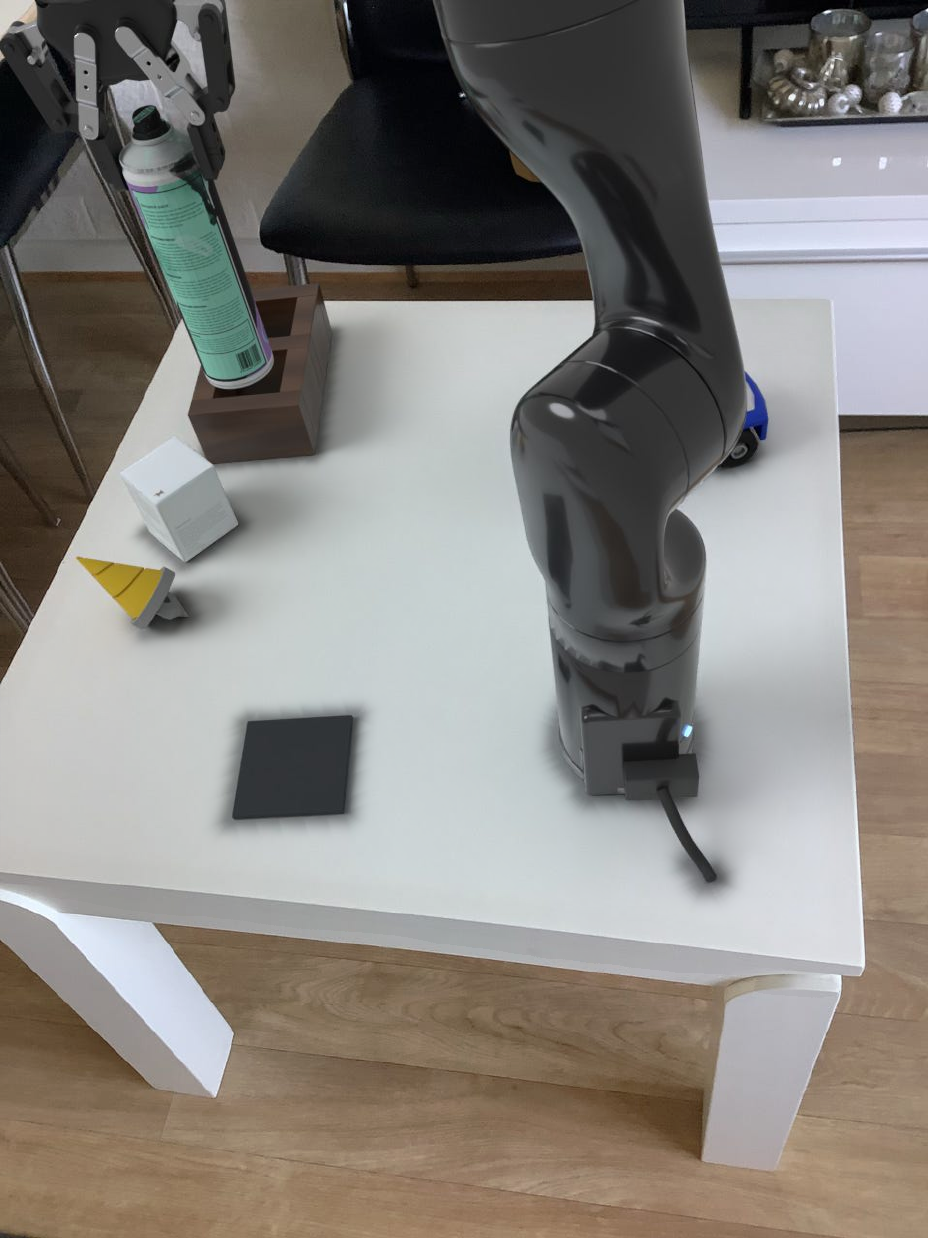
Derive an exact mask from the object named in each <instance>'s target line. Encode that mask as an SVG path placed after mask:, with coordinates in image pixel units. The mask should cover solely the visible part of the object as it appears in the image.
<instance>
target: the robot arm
mask: <svg viewBox="0 0 928 1238" xmlns="http://www.w3.org/2000/svg"><path fill="white" fill-rule="evenodd" d="M34 2H35V6H36V19H34V20H31V21H30V22H27V23H25V22H24V21H21V20H15V21H13V22H12V23H11V24H10V26H9V27H8V28H7V30H6V31H5V33H4V34H3V35H2V37H1V39H0V52H1V54H2V56H3V57H4V59H5V61H6V62H7V63H8V65H9V66H10V68H11V70H12V72H13V73H14V75H15V76H16V77H17V80H18V81H19V82H20V84H21V85H22V87H23V88H24V90H25V92H26V93H27V94H28V96H29V98H30V99H31V101H32V103H33V104H34V105H35V108H37V110H38V111H39V113H40V114H41V116H42V118H43V119H44V121H45V123H46V124H47V126H48V127H49V129H50V130H51V131H53V132H54V133H56V134H64V133H66V132H71V133H74V134H79V135H80V136H81V137H83V138H84V139H85V141H86V142H87V144H88V146H89V148H90V150H91V153H92V156H93V158H94V160H95V162H96V165H97V168H98V170H99V172H100V175H101V177H102V179H104V181H105V182H106V183H107V185H113V187H114V189H115V191H116V192H117V193H119V192H127V191H130V190H129V188H128V185H127V183H126V180H125V178H124V176H123V173H122V166H121V164H120V161H119V154H120V152H121V151H122V149H123V148H124V146H123V143H122V141H121V138H120V136H119V133H118V130H117V129H116V126H115V124H114V123H115V122H109V121H108V91H109V86H116V85H118V84H120V83H122V82H123V81H126V80H127V81H128V80H129V81H133V82H134V81H135V82H146V81H151V83H152V84H153V85H154V87H155V88H156V89H157V90H158V91H159V93H160V94H161V95H162V97H165V98H167V99H169V100H170V101H171V102H172V103H173V104H174V106H175V107H176V108H177V110H179V112H180V113H181V115H183V117H184V118H185V119H186V120H187V122H188V124H187V126H186V129H187V131H188V134H189V137H190V140H191V142H192V145H193V148H194V151H195V154H196V157H197V160H198V162H199V165H200V168H201V171H202V174H203V177H204V179H205V180H206V181H210V180H214V181H215V180H216V181H217V180H218V178H219V174H220V172H221V171H222V170H223V166H224V163H225V160H226V148H225V146H224V143H223V139H222V137H221V134H220V130H219V127H218V125H217V121H216V118H215V114H218V113H225V112H226V111H227V110H228V109H229V107H230V105H231V100H232V97H233V96H234V94H235V90H236V79H235V78H236V77H235V69H234V62H233V54H232V45H231V36H230V28H229V20H228V12H227V11H228V10H227V3H226V0H34ZM684 2H685V1H684V0H432V3H433V8H434V11H435V15H436V18H437V22H438V26H439V30H440V34H441V37H442V42H443V44H444V48H445V51H446V54H447V58H448V60H449V63H450V67H451V69H452V71H453V73H454V77H455V79H456V82H457V83H458V85H459V87H460V89H461V91H462V92H463V94H464V96H465V98H466V100H467V101H468V102H469V104H470V106H471V107H472V108H473V110H474V111H475V113H476V114H477V115H478V117H479V118H480V119H481V120H482V122H483V123H484V124H485V126H486V127H487V128H488V129H489V130H490V131H491V133H493V135H494V136H495V137H496V138H497V139H498V140H499V142H501V144H503V146H504V147H505V148H506V149H507V150H508V151H510V152H511V153H512V154H513V155H514V156H515V157H516V158H517V159H518V160H519V161H520V162H521V163H522V164H523V165H524V166H525V167H526V168H527V169H528V170H529V171H530V172H531V173H532V174H533V175H534V176H535V177H536V178H537V179H538V180H539V181H540V182H539V183H541V184H542V185H543V186H544V187H545V188H546V189H547V190H548V191H549V193H550V194H551V195H552V196H553V197H554V198H555V199H556V200H557V202H559V203H560V205H561V206H562V208H563V210H565V213H567V216H568V218H569V219H570V221H571V223H572V225H573V227H574V230H575V233H576V235H577V238H578V240H579V243H580V247H581V251H582V253H583V258H584V261H585V266H586V270H587V275H588V279H589V284H590V289H591V295H592V302H593V303H592V304H593V314H594V325H593V331H592V334H591V336H590V337H588V338H587V339H586V340H585V341H584V342H582V344H580V345H579V346H578V347H577V348H576V349H574V350H573V351H572V352H571V353H570V354H568V356H566V357H565V358H564V359H562V361H560V362H559V363H558V364H557V365H556V366H554V367H553V368H552V369H551V370H550V371H548V372H547V373H546V374H545V375H543V376H542V378H540V379H539V380H538V381H537V382H536V383H534V384H533V385H532V386H531V387H530V388H529V389H528V390H527V391H526V392H525V393H524V394H523V395H522V396H521V397H520V399H519V400H518V401H517V404H516V405H515V407H514V410H513V413H512V417H511V421H510V427H509V450H510V451H509V452H510V460H511V465H512V471H513V476H514V481H515V486H516V491H517V496H518V502H519V507H520V511H521V517H522V523H523V528H524V533H525V539H526V542H527V545H528V549H529V551H530V554H531V556H532V559H533V561H534V563H535V565H536V567H537V569H538V571H539V573H540V574H541V576H542V578H543V581H544V586H545V595H546V605H547V615H548V616H547V618H548V629H549V638H550V647H551V656H552V668H553V677H554V688H555V698H556V706H557V715H558V723H559V724H558V738H559V746H560V751H561V753H562V756H563V758H564V760H565V762H566V764H567V765H568V766H569V768H570V769H571V770H572V771H573V772H574V774H576V776H578V778H580V779H582V780H583V782H584V788H585V793H586V794H587V795H589V796H595V795H596V796H597V795H615V794H619V795H621V794H622V795H623V794H624V799H625V802H628V801H629V802H630V801H647V800H650V801H651V800H659V801H660V803H661V805H662V808H663V810H664V812H665V814H666V816H667V819H668V821H669V824H670V825H671V827H672V830H673V831H674V833H675V836H676V837H677V839H678V841H679V843H680V844H681V846H682V848H683V849H684V851H685V852H686V854H687V855H688V856H689V858H690V859H691V860H692V861H693V863H694V864H695V866H696V867H697V869H698V870H699V872H700V873H701V875H702V877H703V879H704V881H705V883H707V884H710V883H712V882H714V881H716V880H717V879H718V874H717V873H716V871H715V870H714V868H713V866H712V865H711V863H710V862H709V860H708V859H707V857H706V856H705V854H704V853H703V852H702V851H701V849H700V848H699V847H698V845H697V844H696V843H695V841H694V839H693V838H692V836H691V834H690V832H689V830H688V828H687V826H686V824H685V823H684V821H683V819H682V816H681V814H680V812H679V809H678V808H677V806H676V803H675V800H674V799H688V798H690V799H691V798H697V797H698V796H699V795H698V794H699V786H700V771H699V766H698V757H697V753H695V752H694V753H693V749H694V741H695V723H694V722H695V712H696V711H695V710H696V698H697V684H698V674H699V673H698V672H699V662H700V661H699V660H700V649H701V637H702V624H703V616H704V605H705V603H704V602H705V593H706V580H707V569H708V567H707V566H708V565H707V563H708V558H707V550H706V545H705V541H704V539H703V537H702V534H701V532H700V531H699V529H698V528H697V526H696V525H695V524H694V522H693V521H692V520H691V519H690V518H689V517H688V516H687V515H686V514H685V513H683V512H682V511H681V510H680V509H678V508H679V507H680V506H681V504H683V503H684V502H685V501H686V500H687V499H688V498H689V497H690V496H691V495H692V494H693V493H694V492H695V491H696V490H697V489H698V488H699V487H700V486H701V485H702V483H704V482H705V480H707V479H708V478H709V477H710V476H711V475H712V473H713V472H715V471H716V470H717V469H718V467H719V466H721V465H722V464H721V463H722V462H723V461H724V460H725V459H726V458H727V456H728V455H729V454H730V452H731V451H732V450H733V448H734V446H735V445H736V443H737V441H738V439H739V437H740V435H741V432H742V430H743V428H744V425H745V421H746V415H747V403H748V402H747V385H746V377H745V371H746V370H745V365H744V359H743V354H742V349H741V344H740V340H739V336H738V332H737V327H736V323H735V318H734V313H733V309H732V306H731V305H732V304H731V301H730V300H731V299H730V296H729V292H728V291H729V290H728V288H727V287H728V286H727V284H726V278H725V274H724V270H723V265H722V261H721V256H720V252H719V247H718V243H717V238H716V233H715V229H714V224H713V219H712V213H711V209H710V201H709V196H708V195H709V194H708V188H707V182H706V180H707V179H706V173H705V165H704V157H703V156H704V155H703V149H702V142H701V135H700V134H701V133H700V128H699V121H698V120H699V119H698V112H697V106H696V99H695V92H694V85H693V77H692V71H691V63H690V55H689V47H688V38H687V26H686V15H685V14H686V13H685V3H684ZM178 21H179V22H182V23H183V24H184V25H186V27H187V29H188V32H189V34H190V37H192V39H193V40H195V41H196V42H199V43H201V50H202V58H203V64H204V71H205V78H206V86H205V85H204V84H203V83H202V82H201V81H200V79H199V78H198V77H197V75H196V74H195V72H193V70H192V68H191V64H190V61H189V60H188V58H187V56H186V55H185V54H184V53H183V52H182V51H181V49H180V48H179V46H178V45H177V44H176V42H175V41H174V40H173V37H174V34H175V30H176V28H177V23H178ZM47 43H48V44H49V45H50V46H51V47H53V48H54V49H55V50H56V51H57V52H58V53H60V54H61V55H62V56H63V57H64V58H66V59H67V60H68V61H69V62H70V63H72V64H73V65H74V66H75V100H74V99H73V97H72V95H71V94H70V92H69V90H68V88H67V87H66V85H65V84H64V82H63V81H62V79H61V78H60V76H59V74H58V73H57V71H56V69H55V68H54V66H53V64H52V63H51V61H50V59H49V58H48V57H49V54H50V50H49V47H48V45H47ZM75 101H76V102H75ZM510 152H509V153H510Z"/></svg>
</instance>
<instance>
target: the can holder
mask: <svg viewBox="0 0 928 1238" xmlns="http://www.w3.org/2000/svg"><path fill="white" fill-rule="evenodd" d="M251 291H252V294H253V297H254V300H255V303H256V306H257V309H258V312H259V315H260V318H261V321H262V324H263V327H264V330H265V332H266V335H267V338H268V341H269V344H270V347H271V350H272V354H273V358H274V363H273V366H272V368H271V370H270V371H269V373H268V374H267V375H265V376H264V377H263V378H262V379H260V380H259V381H257V382H255V383H253V384H251V385H248V386H246V387H242V388H237V389H223V388H218V387H215V386H214V385H212V384H211V383H210V382H209V381H208V380H207V378H206V376H205V373H204V371H203V369H202V366H201V365H200V367H199V370H198V375H197V379H196V381H195V382H196V383H195V386H194V390H193V393H192V397H191V400H190V405H189V408H188V411H187V418H188V420H189V422H190V424H191V427H192V429H193V431H194V433H195V436H196V438H197V440H198V443H199V446H200V447H201V449H202V452H203V455H204V458H205V459H206V460H208V461H209V462H210V463H212V464H213V465H214V464H223V463H224V464H225V463H236V462H237V463H238V462H247V461H248V462H249V461H259V460H271V459H281V458H293V457H305V456H315V455H316V448H317V441H318V434H319V426H320V420H321V414H322V406H323V399H324V392H325V386H326V385H325V384H326V378H327V372H328V371H327V370H328V364H329V358H330V351H331V344H332V338H333V328H332V326H331V323H330V319H329V315H328V311H327V307H326V304H325V300H324V296H323V292H322V289H321V285H320V282H314V283H306V284H305V283H304V284H296V285H286V286H277V287H267V288H259V289H251Z"/></svg>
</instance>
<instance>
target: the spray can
mask: <svg viewBox="0 0 928 1238" xmlns="http://www.w3.org/2000/svg"><path fill="white" fill-rule="evenodd" d="M131 119H132V122H133V127H132V132H131V133H130V140H129V142H128V143H127V144H126V145H125V146H123V149H122V151H121V152H120V154H119V161H120V164H121V166H122V173H123V176H124V178H125V180H126V183H127V185H128V188H129V190H128V191H129V192H130V195H131V198H132V200H133V202H134V204H135V207H136V209H137V212H138V215H139V217H140V219H141V222H142V224H143V227H144V229H145V231H146V234H147V236H148V240H149V242H150V244H151V247H152V249H153V252H154V254H155V256H156V259H157V261H158V264H159V266H160V269H161V271H162V273H163V275H164V278H165V280H166V282H167V286H168V288H169V290H170V293H171V295H172V298H173V300H174V302H175V305H176V307H177V310H178V312H179V315H180V317H181V319H182V322H183V325H184V327H185V329H186V332H187V334H188V336H189V339H190V342H191V344H192V347H193V350H194V352H195V354H196V356H197V359H198V361H199V363H200V364H199V365H200V367H201V366H202V369H203V371H204V373H205V376H206V378H207V380H208V381H209V382H210V383H211V384H212V385H214V386H215V387H218V388H223V389H237V388H242V387H246V386H248V385H251V384H253V383H255V382H257V381H259V380H260V379H262V378H263V377H264V376H265V375H267V374H268V373H269V371H270V370H271V368H272V366H273V363H274V358H273V354H272V350H271V347H270V344H269V341H268V338H267V335H266V332H265V330H264V327H263V324H262V321H261V318H260V315H259V312H258V309H257V306H256V303H255V300H254V297H253V294H252V291H251V290H252V289H251V286H250V283H249V280H248V278H247V274H246V271H245V267H244V265H243V262H242V259H241V257H240V256H241V255H240V254H239V251H238V248H237V245H236V241H235V238H234V235H233V233H232V230H231V227H230V225H229V221H228V218H227V216H226V213H225V209H224V206H223V204H222V201H221V198H220V195H219V192H218V188H217V187H216V182H215V180H210V181H206V180H205V179H204V177H203V174H202V171H201V168H200V165H199V162H198V160H197V157H196V154H195V151H194V148H193V145H192V142H191V140H190V137H189V134H188V131H187V128H181V127H174V124H173V123H172V122H170V121H168V120H165V118H162V117H161V113H160V111H159V109H158V107H157V106H156V105H153V104H152V105H151V104H147V105H143V106H140V107H138V108H136V109H135V110H134V111H133V113H132V115H131Z"/></svg>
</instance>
